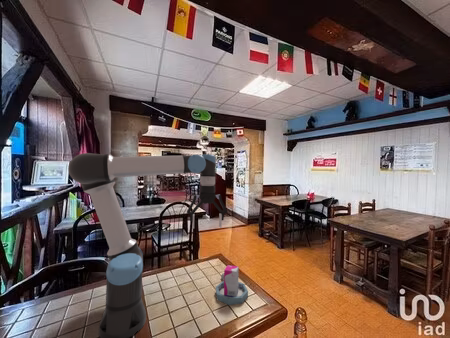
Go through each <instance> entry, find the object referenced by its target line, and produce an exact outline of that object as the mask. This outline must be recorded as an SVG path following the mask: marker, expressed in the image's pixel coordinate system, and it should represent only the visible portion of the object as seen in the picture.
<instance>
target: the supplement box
mask: <svg viewBox="0 0 450 338" xmlns="http://www.w3.org/2000/svg"><path fill="white" fill-rule="evenodd" d="M239 270H240V269H239V266H237V265H230V264H228V265H226V266H225V268H224V271H223V273H224V280H223V281H224V295H225V296H228V297H236V296H237V294H238V282H239Z"/></svg>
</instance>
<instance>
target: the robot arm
mask: <svg viewBox="0 0 450 338" xmlns="http://www.w3.org/2000/svg"><path fill="white" fill-rule="evenodd" d="M216 160H217V159H216V155H214V154H210V153H209V154H206V153H205V154H201V155H200V154H196V153H195V154H192V155H191V154H190V155H186V154H185V155H148V156H147V155H143V156H140V155H139V156H136V155H135V156H114V155H112V154H111V153H110V154H109V153H107V154H103V153H100V154H99V153H91V152H83V153H81V154H77V155H75V156H74V157H73V158H72V159H71V160H70V162H69V164H68V168H67V169H68V175H69V176H70V177H71V178H72V180H73V181H75V182H77V183H79V184H80V185H81V187H82V190H83V192H84V193H86V194H88V195H89V197H90V199H91V201H92V205H93V208H94V209H95V212H96V215H97V218H98V220H99V223H100V225H101V228H102V231H103V234H104V237H105V239H106V242H107V246H108V248H109V249H108V251H107V253H106V255H107V258H108V260H109V262H108V264H107V268H106V272H105V276H106V286H105V287H106V289H105V294H106V295H105V308H104V310H103V311H104V312H103V314H102V316H101V319H100V322H99V325H98V336H99V338H131V337H133V336H135V335H134V333H136V332H137V331H138V332H140V331H141V330H142V329H143V327H144V325H145V324H146V320H147V311H146V308H145V305H144V302H143V299H142V297H143V296H142V294H143V292H142V291H143V288H142V287H143V269H144V263H143V261H144V254H143V251H142V250H141V248H140V247H139V245H138V243H137V240H136V239H134V238H132V236H131V234H130V230H129V228H128V226H127V222H126V220H125V217H124V214H123V211H122V208H121V205H120V203H119V200H118V197H117V194H116V192H115V189H114V186H115V185H116V180H115V178H126V177H127V178H130V177H141V176H143V177H144V176H145V177H146V176H147V177H148V176H159V175H178V174H200V178H199V180H200V187H199V194H194V195H193V198H192V201H191V202H190V204H189V207H188V208H187V211H186V214H188V215H190V216H189V218H190V219H189V220H190V222H192V227H191V228H192V229H195V212H196V211H197V210H198V209H199V208H200V207H201V206H202V205H203V204H205V205H206V204H213V205H214V206H215V208H216V209H217V210H218V211H219V216H218V220H219V221H218V227H219V228H223V227H222V224H223V223H222V222H223V221H224V220H225V218H224V217H225V216H224V214H227V213H228V209H227V207H226V205H225V203H224V201H223V199H222V195H221V194H216V165H217V164H216ZM216 198H217V199H218V202H219V203H220V205H221V207H222V209H221V207H220V206H219V204H217V202H216V201H215V199H216ZM198 199H199V200H200V201H198V203H197V204H196V205H195V207H194V204H195V203H196V201H197V200H198ZM193 207H194V208H193ZM192 208H193V209H192ZM140 329H141V330H140ZM139 330H140V331H139ZM138 332H137V333H138ZM137 333H136V334H137Z"/></svg>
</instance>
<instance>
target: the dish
mask: <svg viewBox="0 0 450 338" xmlns="http://www.w3.org/2000/svg"><path fill="white" fill-rule="evenodd" d="M215 295H216V300H217V301H219V302H221V303H224V304H226V305H228V306H231V305H238V304H239V305H240V304H243V303H244V301H246V299H247V298H248V297H249V290H248V288H247V287H246V285H245V283H243V282H240V281H238V294H237V296H236V297H228V296H225V295H224V280H222V281H221V282H220V283H218V284H217V285H216V286H215Z"/></svg>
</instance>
